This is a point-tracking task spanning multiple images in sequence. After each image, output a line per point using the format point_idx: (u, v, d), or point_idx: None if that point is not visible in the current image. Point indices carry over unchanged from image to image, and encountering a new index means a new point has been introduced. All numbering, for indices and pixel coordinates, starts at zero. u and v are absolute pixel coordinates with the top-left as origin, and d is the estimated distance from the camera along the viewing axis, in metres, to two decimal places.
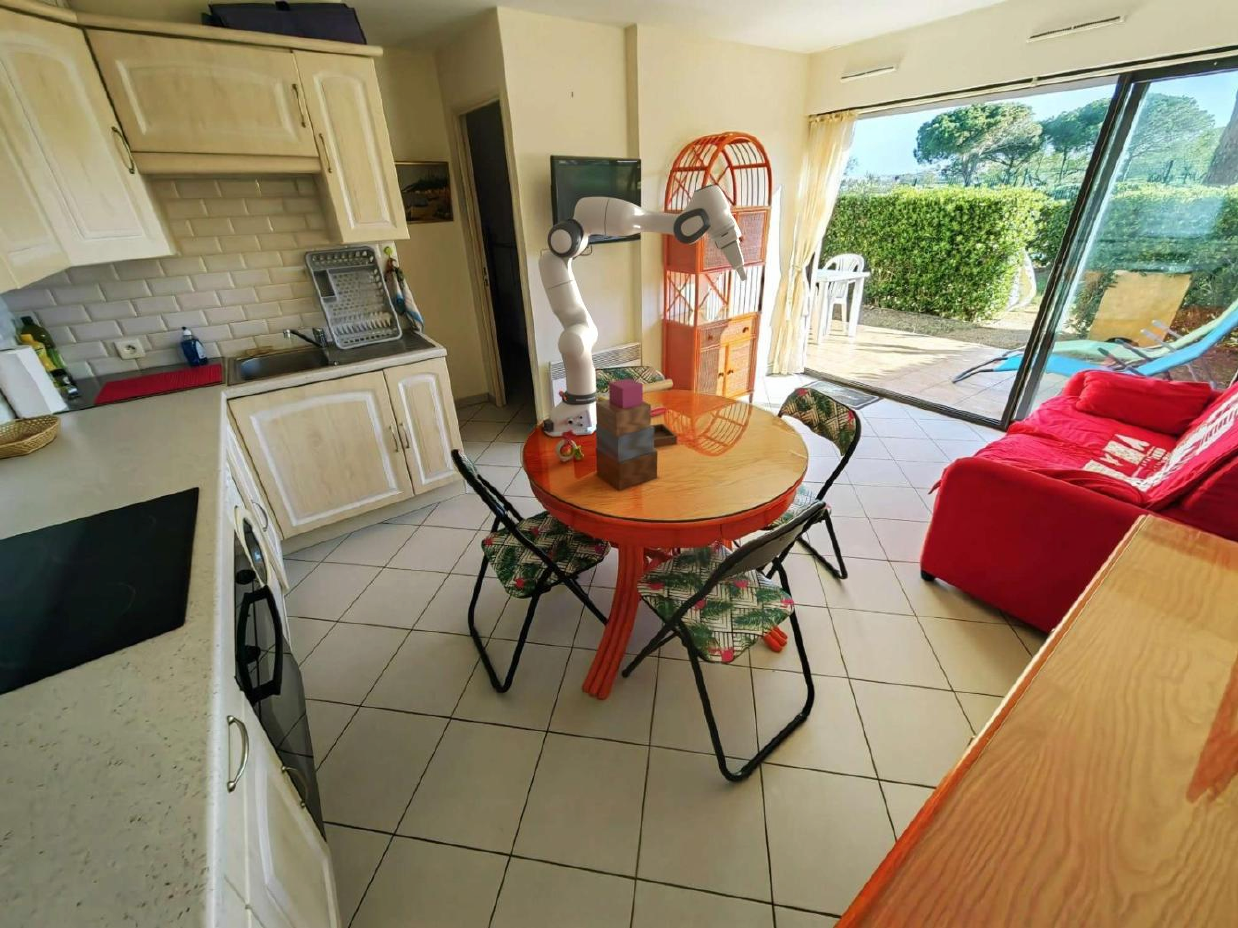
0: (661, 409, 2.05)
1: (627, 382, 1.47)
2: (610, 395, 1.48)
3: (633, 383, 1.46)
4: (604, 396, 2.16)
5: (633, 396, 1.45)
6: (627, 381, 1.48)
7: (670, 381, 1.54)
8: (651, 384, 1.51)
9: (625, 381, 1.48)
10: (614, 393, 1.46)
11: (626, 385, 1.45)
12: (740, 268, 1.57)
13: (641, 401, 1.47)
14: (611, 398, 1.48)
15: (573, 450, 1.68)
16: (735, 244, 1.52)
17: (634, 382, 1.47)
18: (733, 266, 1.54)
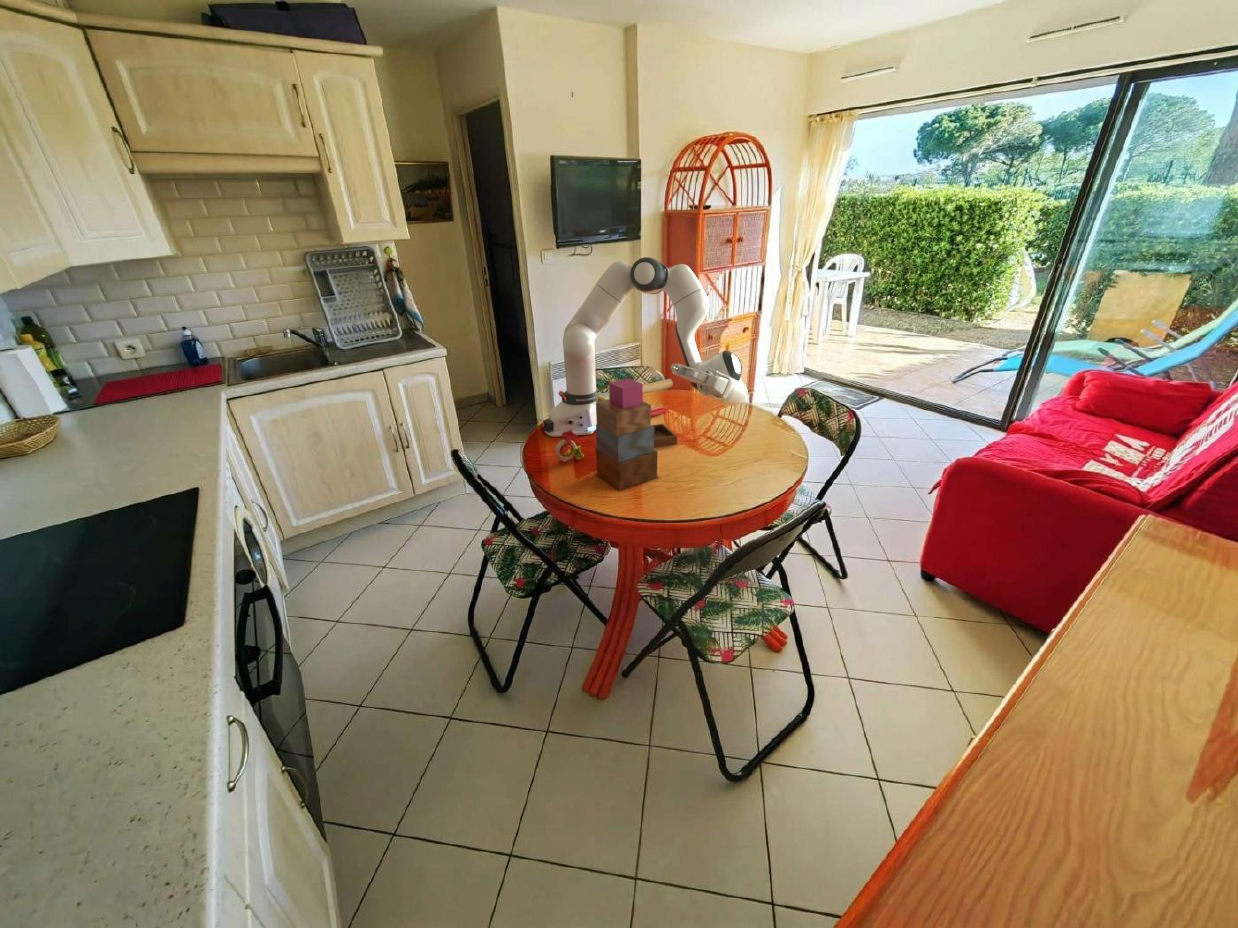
0: (661, 409, 2.05)
1: (627, 382, 1.47)
2: (610, 395, 1.48)
3: (633, 383, 1.46)
4: (604, 396, 2.16)
5: (633, 396, 1.45)
6: (627, 381, 1.48)
7: (670, 381, 1.54)
8: (651, 384, 1.51)
9: (625, 381, 1.48)
10: (614, 393, 1.46)
11: (626, 385, 1.45)
12: (704, 379, 1.54)
13: (641, 401, 1.47)
14: (611, 398, 1.48)
15: (573, 450, 1.68)
16: (723, 392, 1.57)
17: (634, 382, 1.47)
18: (718, 378, 1.52)
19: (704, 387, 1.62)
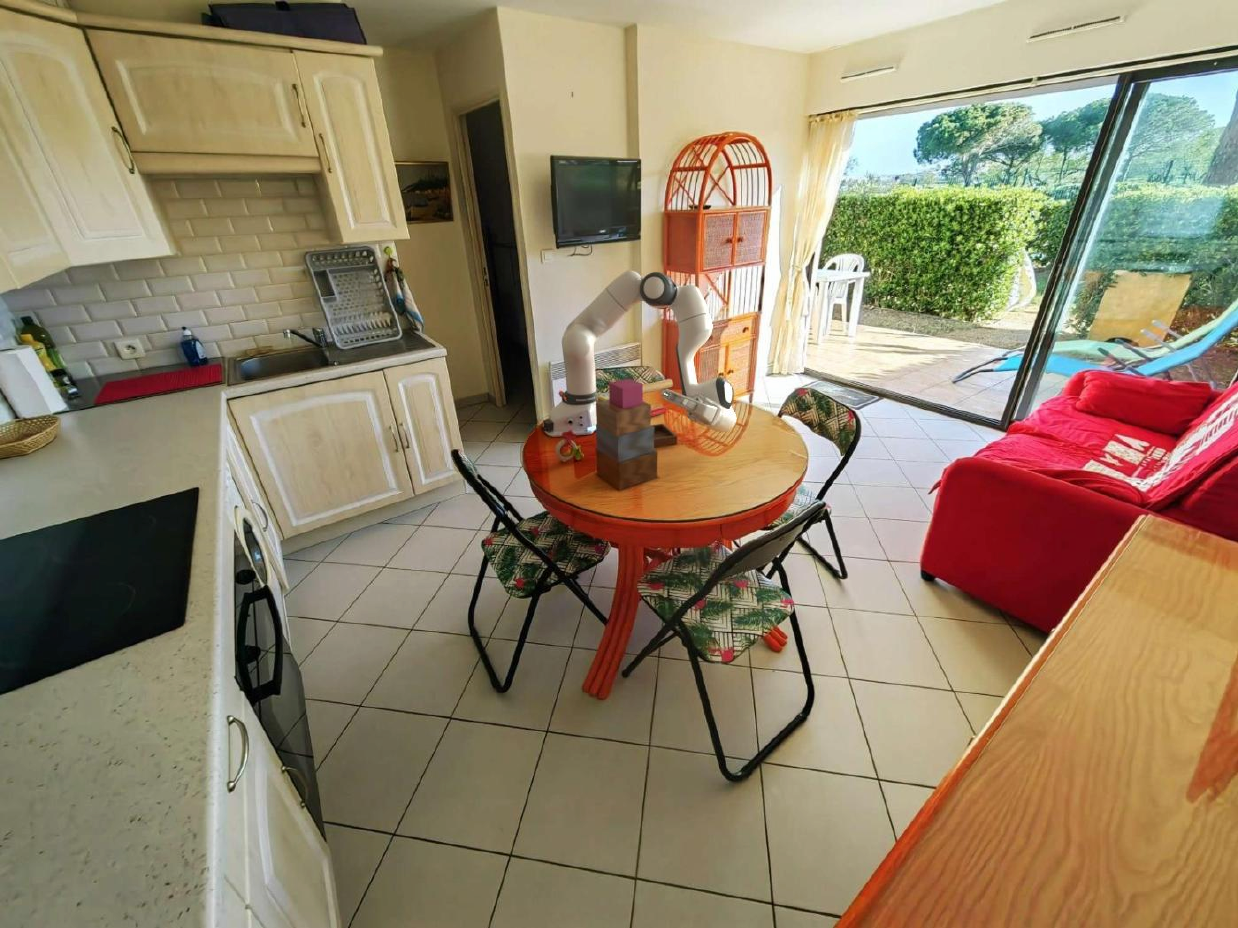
0: (661, 409, 2.05)
1: (627, 382, 1.47)
2: (610, 395, 1.48)
3: (633, 383, 1.46)
4: (604, 396, 2.16)
5: (633, 396, 1.45)
6: (627, 381, 1.48)
7: (670, 381, 1.54)
8: (651, 384, 1.51)
9: (625, 381, 1.48)
10: (614, 393, 1.46)
11: (626, 385, 1.45)
12: (693, 406, 1.56)
13: (641, 401, 1.47)
14: (611, 398, 1.48)
15: (573, 450, 1.68)
16: (712, 420, 1.59)
17: (634, 382, 1.47)
18: (707, 406, 1.54)
19: (693, 414, 1.64)
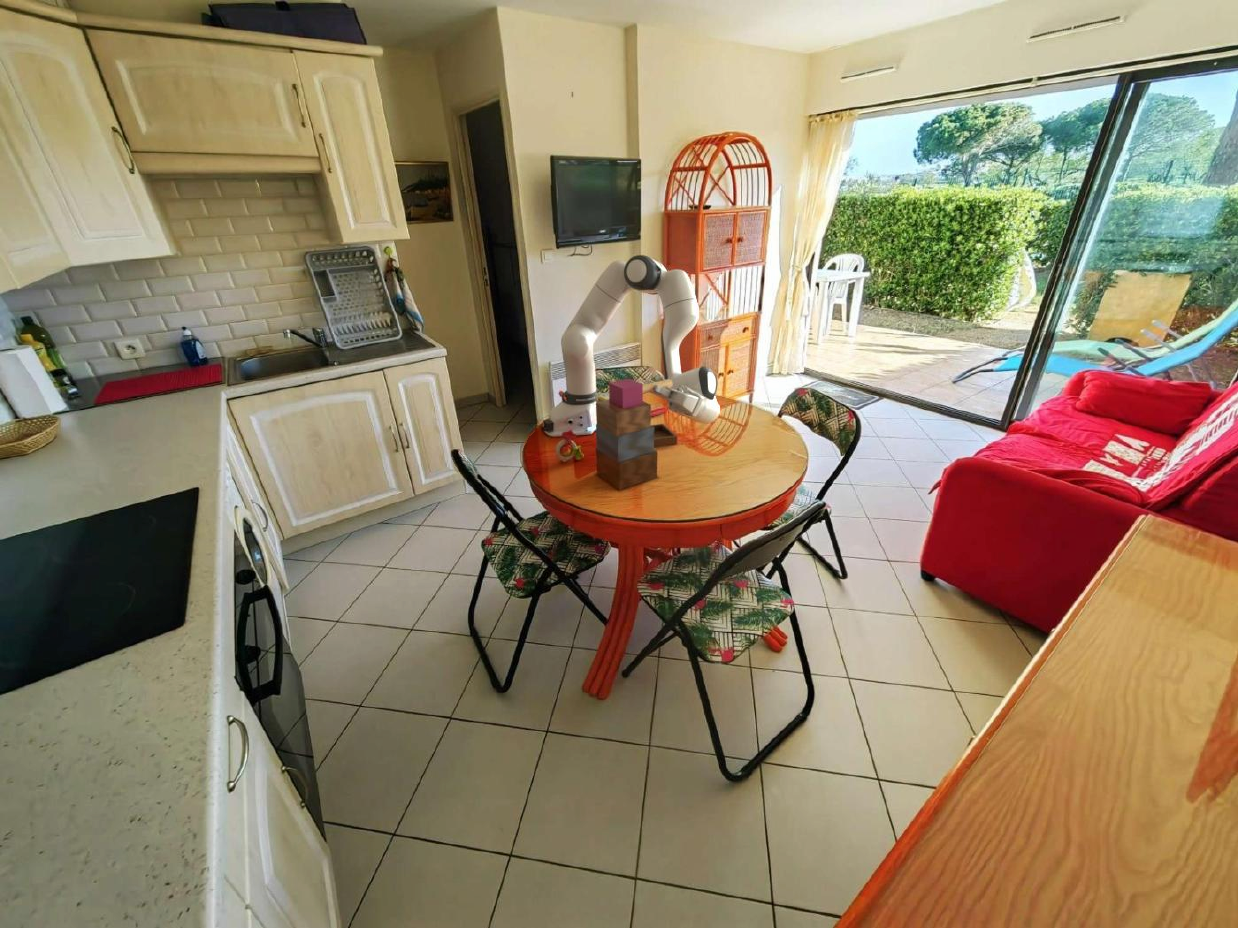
0: (661, 409, 2.05)
1: (627, 382, 1.47)
2: (610, 395, 1.48)
3: (633, 383, 1.46)
4: (604, 396, 2.16)
5: (633, 396, 1.45)
6: (627, 381, 1.48)
7: (670, 381, 1.54)
8: (651, 384, 1.51)
9: (625, 381, 1.48)
10: (614, 393, 1.46)
11: (626, 385, 1.45)
12: (667, 394, 1.52)
13: (641, 401, 1.47)
14: (611, 398, 1.48)
15: (573, 450, 1.68)
16: (692, 410, 1.53)
17: (634, 382, 1.47)
18: (687, 396, 1.48)
19: (674, 404, 1.58)
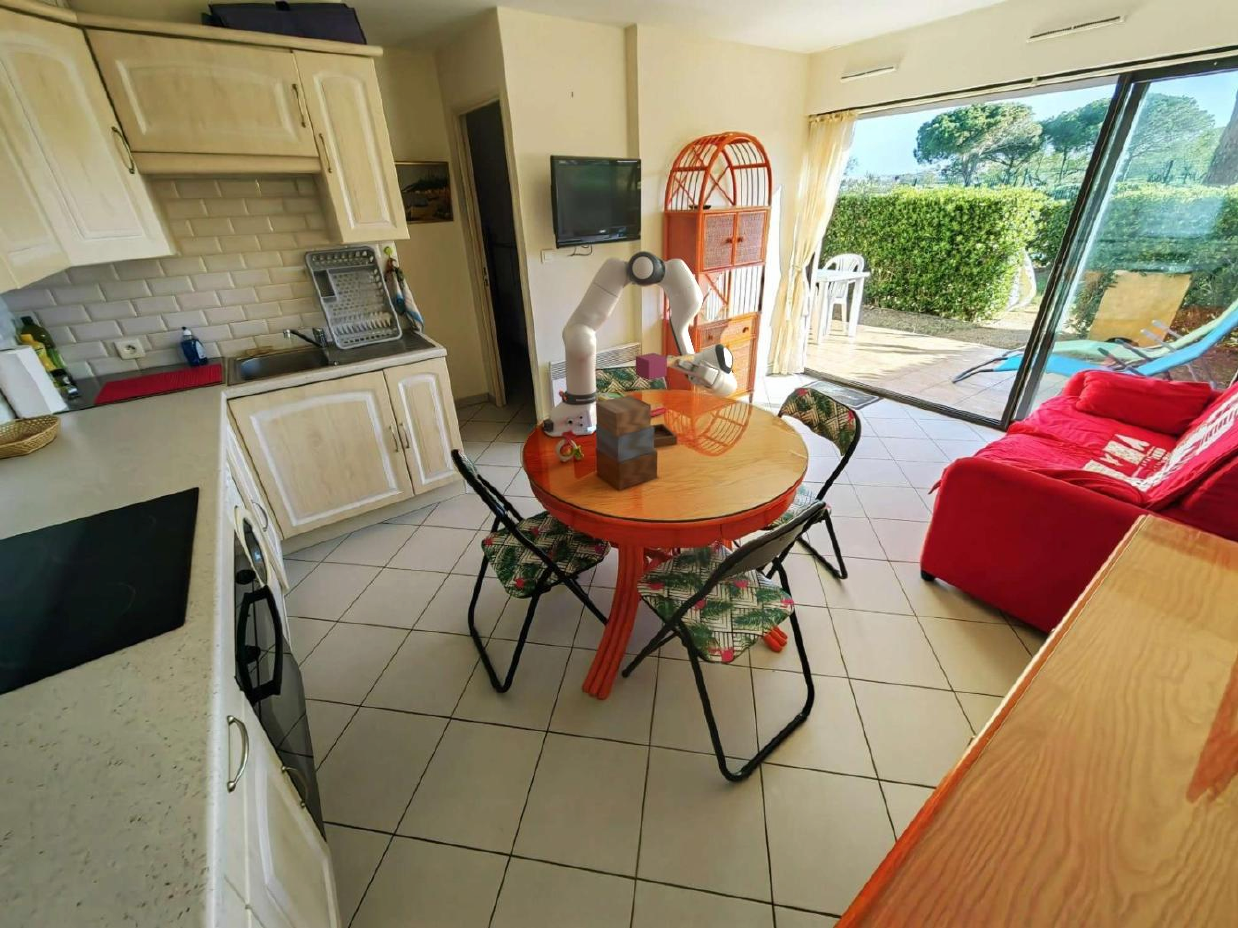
0: (661, 409, 2.05)
1: (652, 356, 1.58)
2: (636, 368, 1.60)
3: (658, 357, 1.57)
4: (604, 396, 2.16)
5: (658, 368, 1.56)
6: (652, 355, 1.59)
7: (691, 356, 1.65)
8: (674, 358, 1.62)
9: (650, 355, 1.59)
10: (641, 366, 1.57)
11: (652, 358, 1.56)
12: (689, 367, 1.63)
13: (665, 373, 1.59)
14: (637, 371, 1.60)
15: (573, 450, 1.68)
16: (713, 383, 1.64)
17: (659, 356, 1.58)
18: (709, 369, 1.59)
19: (695, 378, 1.69)
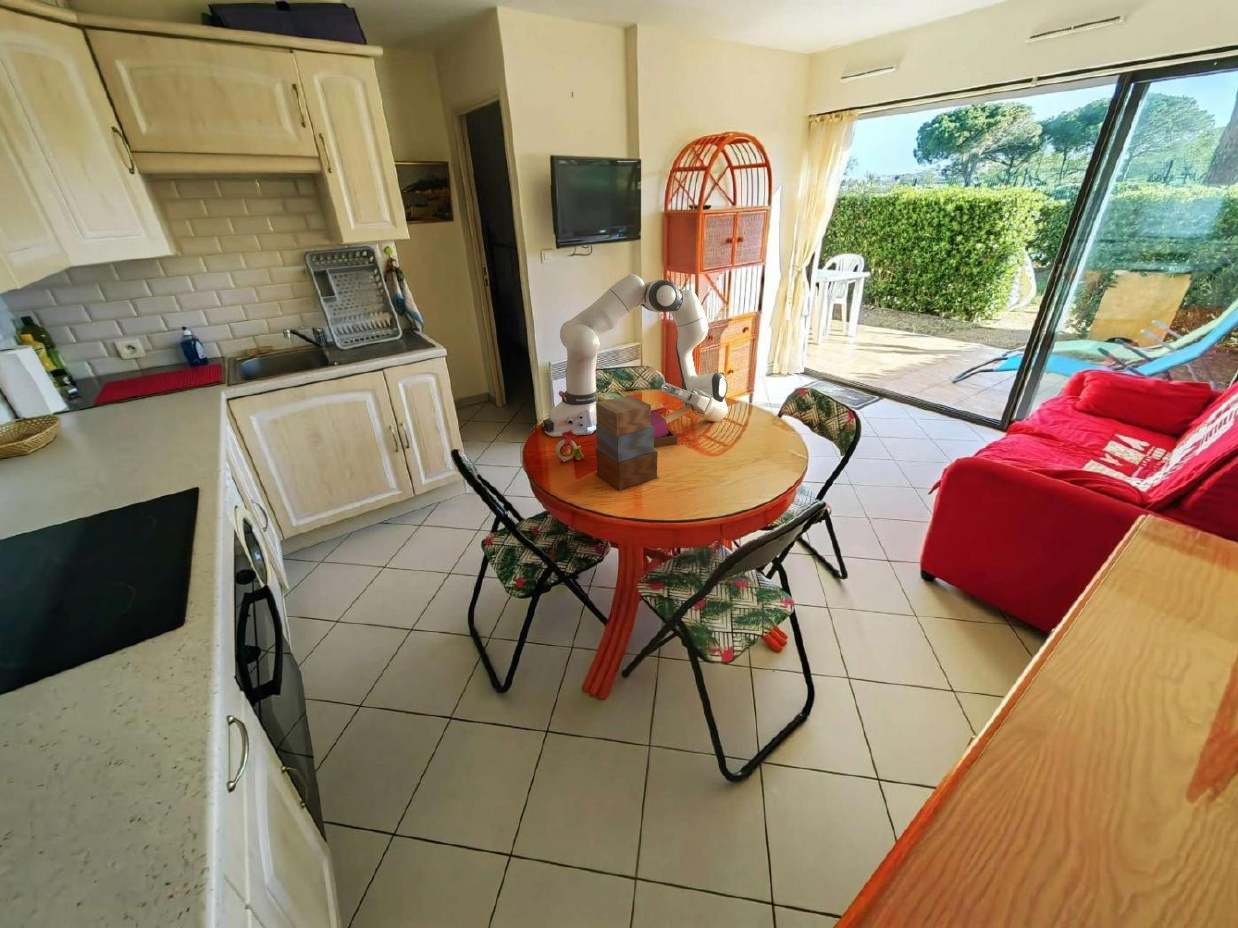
0: (661, 409, 2.05)
1: (653, 418, 1.81)
2: None
3: (658, 420, 1.79)
4: (604, 396, 2.16)
5: (659, 431, 1.80)
6: (653, 416, 1.82)
7: (689, 407, 1.86)
8: (674, 414, 1.84)
9: (651, 417, 1.81)
10: None
11: (652, 423, 1.79)
12: (688, 397, 1.79)
13: (667, 432, 1.82)
14: None
15: (573, 450, 1.68)
16: (705, 409, 1.81)
17: (659, 418, 1.80)
18: (701, 397, 1.77)
19: None
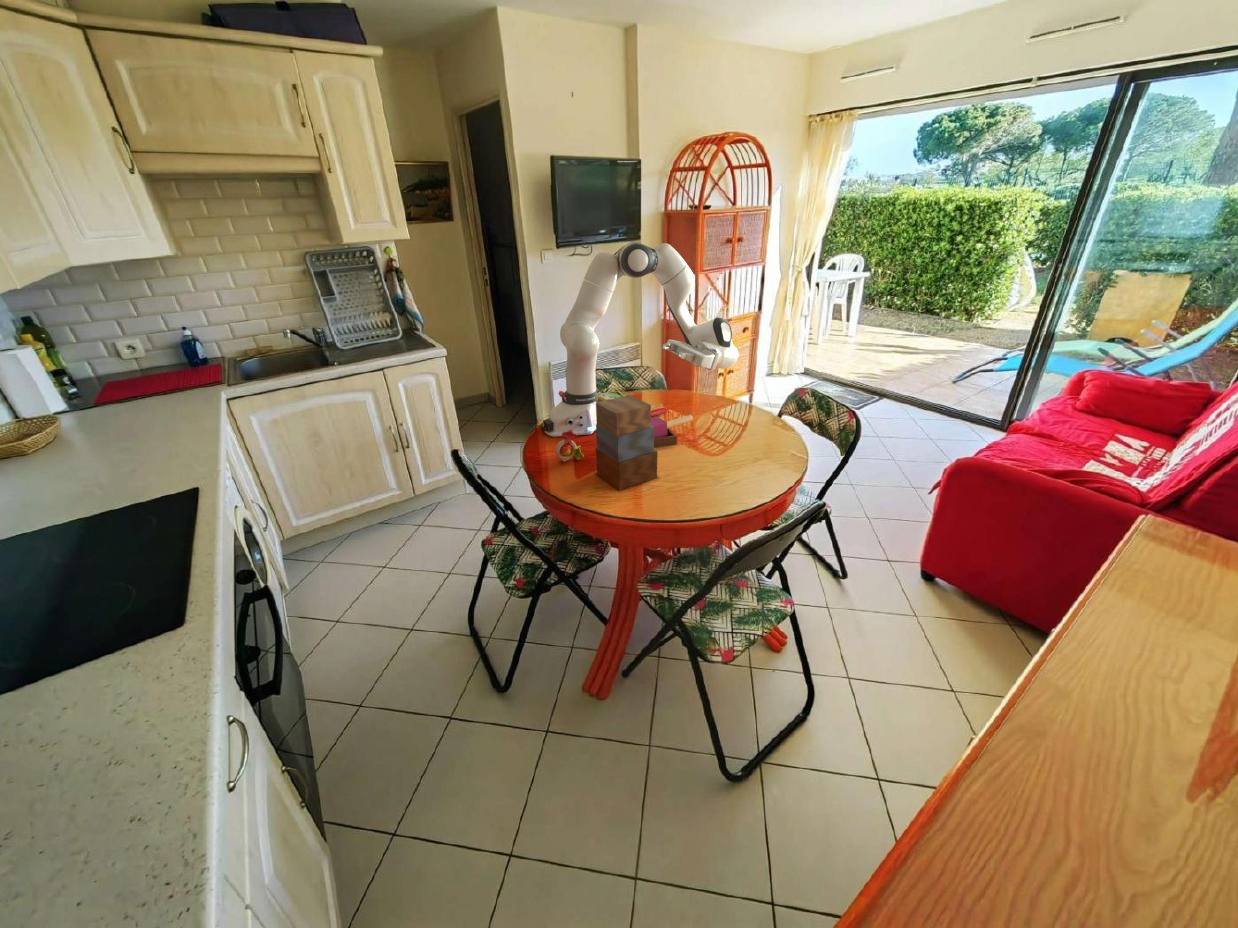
0: (661, 409, 2.05)
1: (655, 420, 1.82)
2: None
3: (660, 421, 1.81)
4: (604, 396, 2.16)
5: (659, 432, 1.80)
6: (654, 419, 1.83)
7: (691, 417, 1.88)
8: (675, 420, 1.85)
9: (653, 419, 1.83)
10: None
11: (653, 423, 1.80)
12: (692, 358, 1.72)
13: (666, 435, 1.82)
14: None
15: (573, 450, 1.68)
16: (711, 366, 1.75)
17: (660, 420, 1.82)
18: (704, 357, 1.70)
19: None
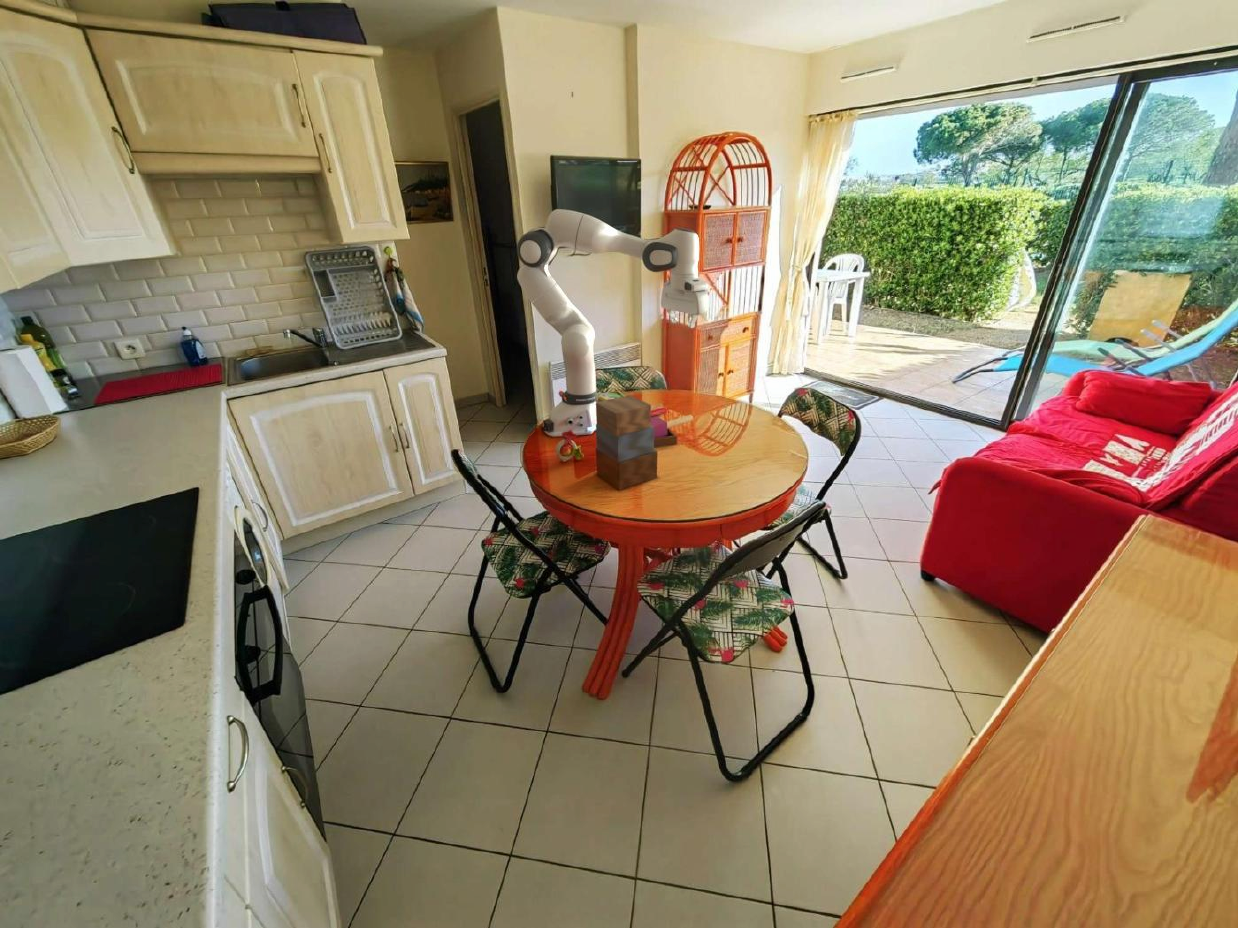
0: (661, 409, 2.05)
1: (655, 420, 1.82)
2: None
3: (660, 421, 1.81)
4: (604, 396, 2.16)
5: (659, 432, 1.80)
6: (654, 419, 1.83)
7: (691, 417, 1.88)
8: (675, 420, 1.85)
9: (653, 419, 1.83)
10: None
11: (653, 423, 1.80)
12: (696, 316, 1.67)
13: (666, 435, 1.82)
14: None
15: (573, 450, 1.68)
16: (705, 293, 1.63)
17: (660, 420, 1.82)
18: (699, 312, 1.63)
19: None
